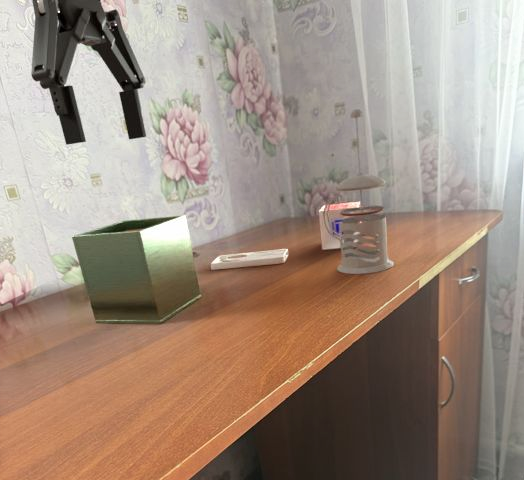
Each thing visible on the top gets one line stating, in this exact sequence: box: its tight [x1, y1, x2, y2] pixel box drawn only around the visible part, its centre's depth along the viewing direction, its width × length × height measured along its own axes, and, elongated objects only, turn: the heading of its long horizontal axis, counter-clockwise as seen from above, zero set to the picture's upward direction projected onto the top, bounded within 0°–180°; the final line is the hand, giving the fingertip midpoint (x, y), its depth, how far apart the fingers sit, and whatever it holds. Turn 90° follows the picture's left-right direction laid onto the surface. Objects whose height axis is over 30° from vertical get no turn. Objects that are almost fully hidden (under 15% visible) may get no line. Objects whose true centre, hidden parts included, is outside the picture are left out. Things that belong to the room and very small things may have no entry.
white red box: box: [318, 201, 362, 251], centre depth 105 cm, size 8×8×8 cm
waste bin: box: [71, 214, 202, 325], centre depth 78 cm, size 12×12×14 cm
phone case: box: [210, 248, 289, 271], centre depth 102 cm, size 7×1×15 cm
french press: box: [323, 109, 394, 275], centre depth 83 cm, size 10×12×25 cm
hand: (109, 140), depth 71 cm, fingers open, 13 cm apart
